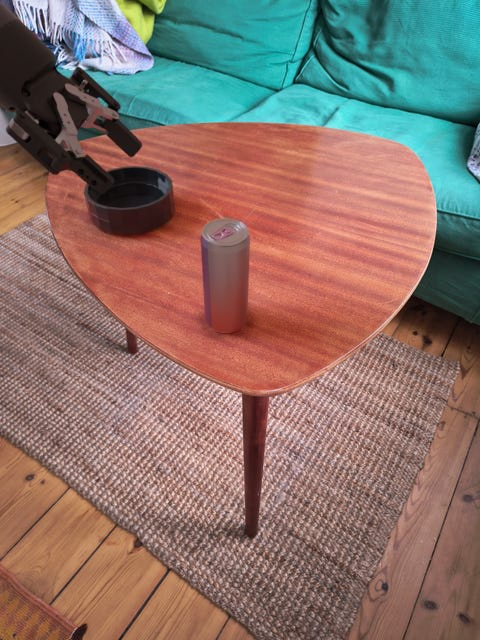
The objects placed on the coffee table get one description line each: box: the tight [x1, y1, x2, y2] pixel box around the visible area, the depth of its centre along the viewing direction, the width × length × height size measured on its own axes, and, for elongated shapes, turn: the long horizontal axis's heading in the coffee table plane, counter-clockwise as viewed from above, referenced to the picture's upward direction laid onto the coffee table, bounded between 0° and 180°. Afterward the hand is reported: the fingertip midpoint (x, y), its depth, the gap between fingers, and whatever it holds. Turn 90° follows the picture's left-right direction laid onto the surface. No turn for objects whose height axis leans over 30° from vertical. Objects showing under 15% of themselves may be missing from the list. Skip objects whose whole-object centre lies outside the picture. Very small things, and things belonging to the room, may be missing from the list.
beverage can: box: [200, 217, 251, 334], centre depth 61 cm, size 6×6×15 cm
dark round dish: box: [83, 165, 176, 236], centre depth 84 cm, size 15×15×6 cm
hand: (124, 168), depth 52 cm, fingers open, 8 cm apart
